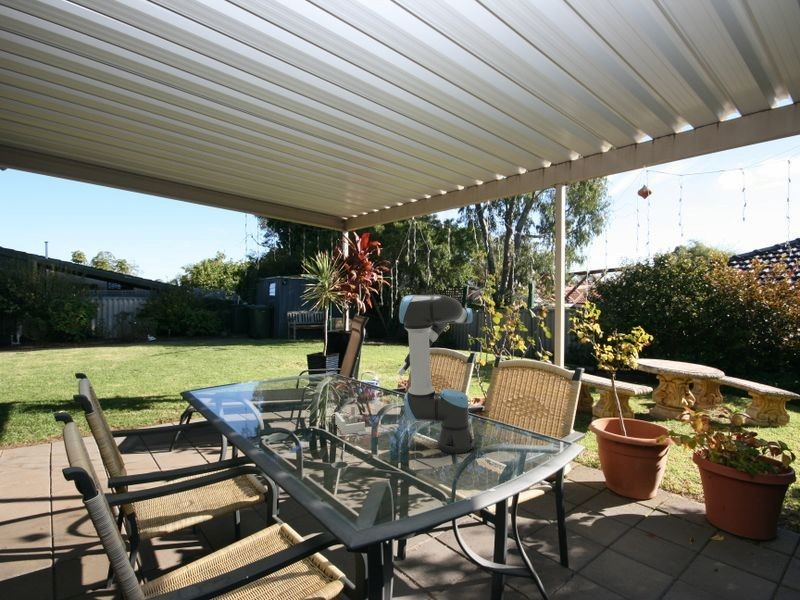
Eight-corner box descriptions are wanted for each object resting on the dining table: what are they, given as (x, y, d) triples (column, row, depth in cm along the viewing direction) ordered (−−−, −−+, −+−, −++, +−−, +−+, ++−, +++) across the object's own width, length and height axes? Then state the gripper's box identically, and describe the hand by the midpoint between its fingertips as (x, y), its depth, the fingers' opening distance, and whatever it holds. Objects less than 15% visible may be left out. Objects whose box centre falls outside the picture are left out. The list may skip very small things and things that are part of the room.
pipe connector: (358, 431, 202) (357, 410, 202) (339, 429, 206) (338, 408, 206) (367, 424, 212) (366, 404, 211) (349, 422, 215) (348, 403, 215)
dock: (368, 434, 197) (367, 421, 197) (345, 438, 194) (344, 425, 193) (354, 418, 222) (353, 407, 222) (333, 421, 218) (333, 409, 218)
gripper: (438, 344, 216) (409, 381, 211) (427, 341, 228) (400, 376, 223) (427, 334, 214) (399, 372, 208) (417, 332, 226) (390, 367, 221)
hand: (399, 374), depth 216 cm, fingers closed
